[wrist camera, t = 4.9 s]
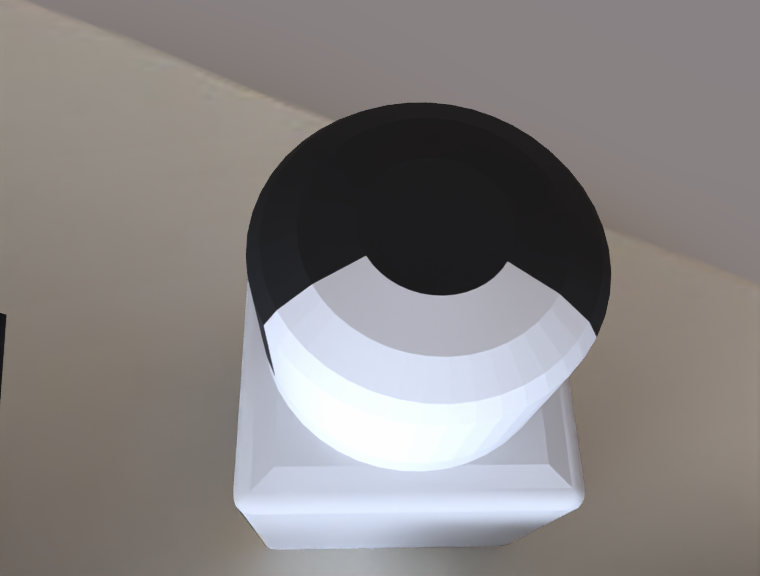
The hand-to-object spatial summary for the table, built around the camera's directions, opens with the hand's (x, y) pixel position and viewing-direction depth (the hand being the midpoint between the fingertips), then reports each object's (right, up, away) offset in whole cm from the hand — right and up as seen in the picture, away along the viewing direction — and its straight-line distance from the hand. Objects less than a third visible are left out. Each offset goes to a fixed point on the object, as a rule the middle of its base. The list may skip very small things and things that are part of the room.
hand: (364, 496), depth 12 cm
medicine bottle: (0, -1, +10) cm, 10 cm away
